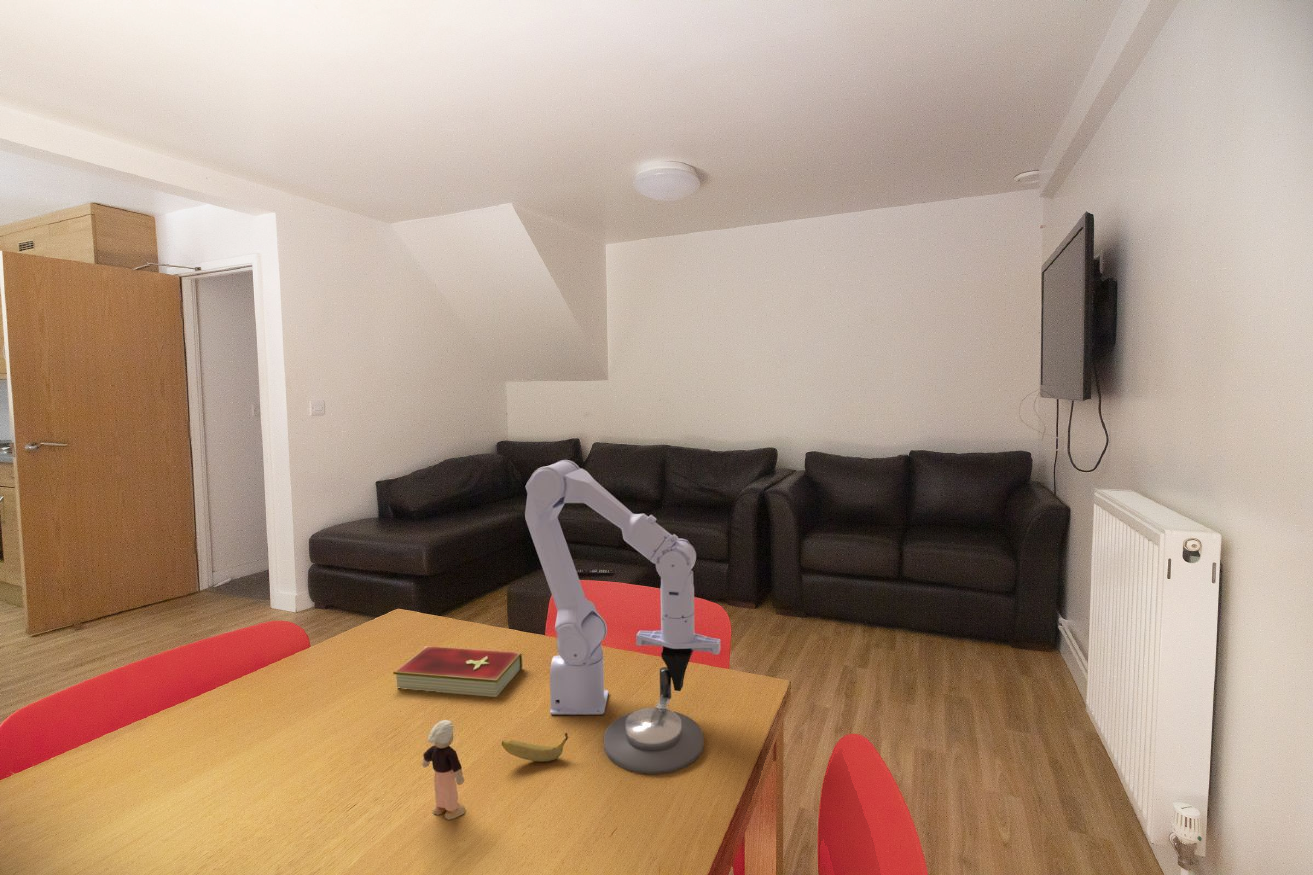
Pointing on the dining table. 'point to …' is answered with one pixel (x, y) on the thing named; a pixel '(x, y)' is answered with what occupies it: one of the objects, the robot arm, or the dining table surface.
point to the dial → (655, 721)
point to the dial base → (653, 759)
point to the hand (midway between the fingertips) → (678, 688)
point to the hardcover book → (459, 671)
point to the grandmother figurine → (445, 770)
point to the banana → (534, 750)
